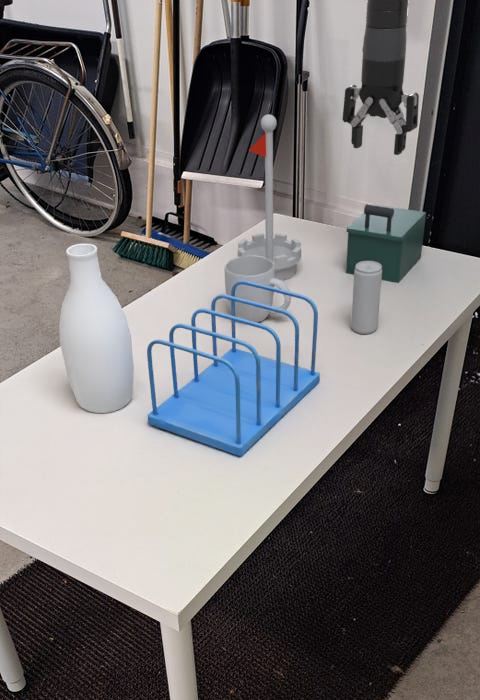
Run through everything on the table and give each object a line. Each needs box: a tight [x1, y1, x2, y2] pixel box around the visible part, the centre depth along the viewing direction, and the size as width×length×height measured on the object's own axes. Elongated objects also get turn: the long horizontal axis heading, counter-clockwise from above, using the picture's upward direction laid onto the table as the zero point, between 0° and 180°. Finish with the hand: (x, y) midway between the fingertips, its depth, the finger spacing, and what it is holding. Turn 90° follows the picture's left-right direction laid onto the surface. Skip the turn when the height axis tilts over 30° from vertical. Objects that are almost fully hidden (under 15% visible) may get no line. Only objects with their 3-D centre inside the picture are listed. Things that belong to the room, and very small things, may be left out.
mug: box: [224, 256, 292, 323], centre depth 157 cm, size 13×9×10 cm
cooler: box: [345, 216, 427, 284], centre depth 174 cm, size 13×11×9 cm
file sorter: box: [146, 280, 321, 457], centre depth 133 cm, size 25×17×15 cm
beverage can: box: [350, 261, 383, 335], centre depth 152 cm, size 5×5×12 cm
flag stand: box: [236, 113, 302, 281], centre depth 167 cm, size 13×13×30 cm
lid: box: [346, 203, 427, 241], centre depth 169 cm, size 14×11×5 cm
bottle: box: [58, 243, 134, 414], centre depth 132 cm, size 11×11×25 cm
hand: (377, 150), depth 161 cm, fingers open, 8 cm apart
